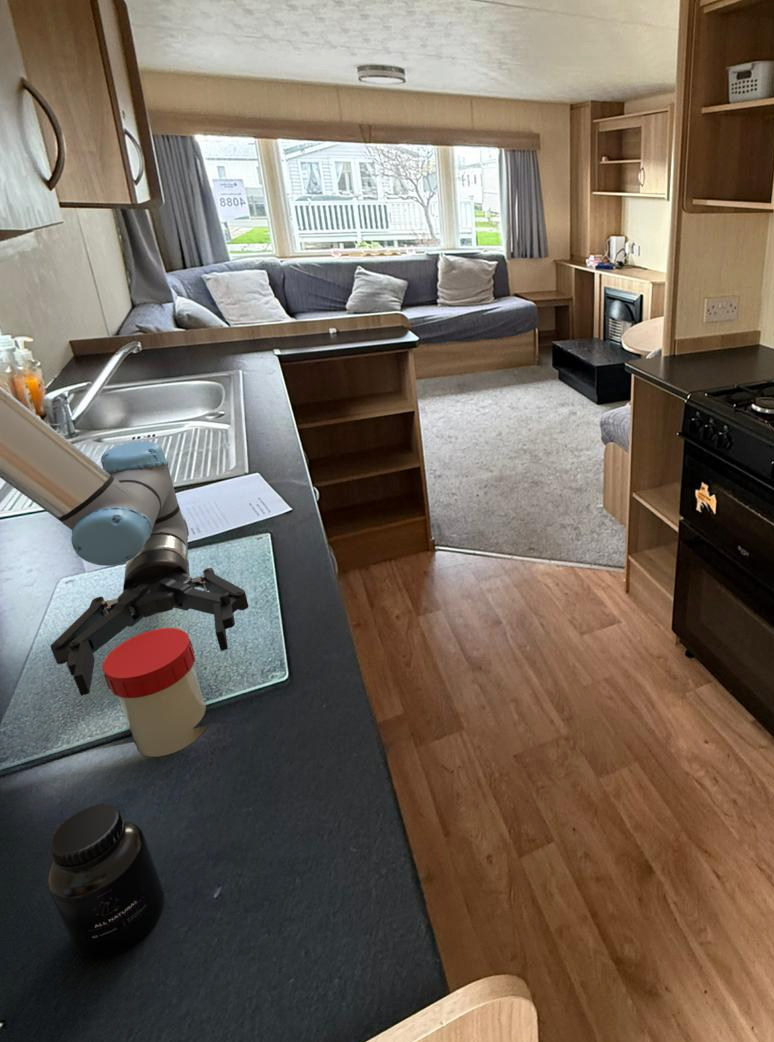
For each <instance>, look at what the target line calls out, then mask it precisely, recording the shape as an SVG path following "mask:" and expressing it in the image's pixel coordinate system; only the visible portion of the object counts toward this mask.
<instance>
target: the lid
mask: <svg viewBox="0 0 774 1042" xmlns="http://www.w3.org/2000/svg"><path fill="white" fill-rule="evenodd" d="M195 661H196V657H195V650H194V647H193V643H192V640H191V639H190V636H189V634H188V633H187V632H186V631H184V630H183V629H179V628H174V627H162V628H157V629H153V630H149V631H146V632H142V633H139V634H137V635H134V636H132V637H131V638H129V639H126V640H125V641H124V642H121V643H120V644H119V645H117V646H116V647H115V648H114V649H113V650H111V651H110V652H109V653H108V655H107V656H106V657H105V659H104V661H103V663H102V672H103V676H104V679H105V682H106V685H107V687H108V690H110V692H111V693H112V694H113V695H114V696H116V697H117V698H118V697H122V698H138V697H143V696H148V695H151V694H154V693H157V692H159V691H162V690H164V689H166V688H168V687H170V686H171V685H173V684H175V683H176V682H178V681H179V680H180V679H181V678H183V677H184V676H185V675H186V674H187V673H188V672H189V671H190V669H191V668H192V666H194V664H195Z"/></svg>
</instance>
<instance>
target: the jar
mask: <svg viewBox="0 0 774 1042" xmlns="http://www.w3.org/2000/svg"><path fill="white" fill-rule="evenodd" d="M117 698H118V701H119V704H120V706H121V709H122V711H123V714H124V717H125V720H126V722H127V725H128V728H129V731H130V733H131V736H132V739H133V740H134V744H135V746H136V749H137V752H139V753H140V754H141V755H143V756H146V757H149V758H156V757H158V758H159V757H164V756H168V755H169V756H170V755H171V754H174V753H177V752H179V751H182V750H184V749H185V748H187V747H189V746H190V745H191V744H193V743H194V742H195V741H197V740H198V739H199V738H200V737H201V736H202V735H203V734H204V733H205V731H206V729H207V728H208V725H204V726H198V727H196V726H197V725H198V724H199V723H200V722H201V721H202V719H203V718H204V716H205V714H206V709H207V705H206V702H205V699H204V696H203V691H202V689H201V685H200V683H199V679H198V676H197V672H196V670H195V666H194V665H193V666H192V668H191V669H190V671H189V672H188V673H187V674H186V675H185V676H184V677H183V678H181V679H180V680H179V681H178V682H176V683H175V684H173V685H171V686H170V687H168V688H166V689H164V690H162V691H159V692H157V693H154V694H151V695H148V696H143V697H138V698H122V697H118V696H117Z"/></svg>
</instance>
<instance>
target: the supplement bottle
mask: <svg viewBox="0 0 774 1042" xmlns="http://www.w3.org/2000/svg"><path fill="white" fill-rule="evenodd" d="M49 848H50V849H49V851H50V853H51V855H52V860H53V862H52V864H51V866H50V869H49V871H48V875H47V880H46V881H47V889H48V892H49V894H50V897H51V899H52V901H53V903H54V905H55V907H56V910H57V912H58V915H59V916H60V919H61V921H62V923H63V925H64V927H65V930H66V932H67V934H68V937H69V938H70V941H71V944H72V945H73V947H74V949H75V950H76V952H77V953H78V954H79V956H82V957H83V958H86V959H89V960H101V959H102V960H103V959H106V958H110V957H113V956H116V955H118V954H120V953H122V952H125V951H126V950H127V949H129V948H130V947H132V946H133V945H135V944H136V943H137V942H139V941H140V940H141V939H142V938H143V937H145V935H146V934H147V933H148V932H149V931H150V930H151V929H152V927H153V926H154V924H155V923H156V922H157V920H158V918H159V916H160V914H161V912H162V910H163V908H164V902H165V893H164V889H163V885H162V883H161V879H160V877H159V874H158V871H157V867H156V865H155V863H154V860H153V857H152V853H151V851H150V848H149V845H148V843H147V840H146V837H145V834H144V833H143V830H142V829H141V828H140V827H139V825H137V824H136V823H133V822H130V821H126V820H124V818H123V817H122V815H121V813H120V810H119V809H118V807H116V806H114V805H113V804H109V803H101V804H100V803H99V804H95V805H90V806H88V807H85V808H83V809H81V810H79V811H77V812H76V813H74V814H72V815H71V816H69V817H68V818H67V819H65V820H64V821H63V823H60V825H59V826H58V827H57V828H56V830H55V831H54V833H52V836H51V839H50V843H49Z"/></svg>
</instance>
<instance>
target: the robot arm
mask: <svg viewBox="0 0 774 1042" xmlns="http://www.w3.org/2000/svg"><path fill="white" fill-rule="evenodd" d="M100 463H101V466H100V465H99V464H98V463H96V462H95V461H94V460H92V459H91V458H90V457H89V456H87V454H85V453H84V452H83V451H81V450H80V449H79V448H78V447H76V446H75V444H73V443H72V442H70V440H68V439H67V438H65V437H64V436H63V435H62V434H60V433H59V432H58V431H56V429H54V428H53V427H52V426H51V425H49V424H48V423H47V422H45V420H43V419H42V418H40V417H39V416H38V415H37V414H36V413H35V412H33V411H32V410H30V409H29V408H28V407H27V406H26V405H24V403H22V402H21V401H19V400H18V399H17V398H16V397H15V396H13V395H12V394H11V393H9V392H8V391H7V390H6V389H4V388H3V386H1V385H0V479H1V480H3V482H5V483H7V484H8V485H10V486H11V487H12V488H14V489H15V490H17V492H19V493H21V494H22V495H24V496H25V497H26V498H28V499H29V500H30V501H32V503H35V504H36V505H38V506H39V507H40V508H41V509H43V510H44V511H46V512H47V513H48V514H50V515H51V516H53V517H54V518H55V519H56V520H57V521H59V522H61V523H62V524H63V525H64V526H65V527H66V528H68V529H70V530H71V538H70V539H71V544H72V545H71V546H72V548H73V549H74V551H75V554H76V555H77V556H78V557H79V558H81V559H82V560H84V561H85V562H87V563H89V564H92V565H97V566H102V567H103V566H106V567H109V566H110V567H111V566H118V565H121V564H125V563H126V564H125V568H124V569H125V570H124V578H123V586H122V592H121V594H119V596H117V598H114V599H109V600H105V599H104V598H105V597H104V596H97V597H95V598H93V599H92V600H91V602H90V605H89V607H88V608H87V609H86V610H85V611H84V612H83V613H82V614H81V615H80V616H79V617H78V618H77V619H76V620H75V621H74V622H73V623H72V624H71V625H70V626H69V627H67V629H66V630H65V631H64V632H63V633H62V634H61V635H60V636H58V638H56V639H55V641H53V643H51V644H50V646H49V648H50V650H51V652H52V655H53V657H54V659H55V663H56V664H57V665H63V664H66V667H67V669H68V671H69V674H70V676H72V677H73V679H74V682H75V685H76V686H77V690H78V692H79V695H80V697H83V696H86V695H89V694H90V692H91V686H92V679H93V673H94V668H95V661H96V657H95V655H94V654H95V652H97V651H98V650H99V649H100V648H102V647H103V646H105V644H107V643H108V642H109V641H111V640H112V639H113V638H114V637H116V636H117V635H118V634H120V633H121V632H122V631H123V630H125V629H126V628H127V627H129V628H130V627H131V628H132V627H134V626H135V625H136V624H137V623H139V622H140V621H141V620H142V619H144V618H149V617H151V616H154V615H156V614H157V615H158V614H160V613H166V612H169V611H172V610H173V609H178V610H182V611H189V610H193V611H196V612H200V613H201V612H202V613H205V614H208V615H209V614H210V615H213V618H214V629H215V636H216V639H217V643H218V646H219V650H220V652H223V651H227V650H228V649H229V647H228V639H227V631H226V630H227V629H230V628H234V627H235V625H236V622H235V615H234V614H235V612H237V611H245V610H247V609H249V603H248V599H247V594H246V590H245V589H243V588H241V587H239V586H238V585H236V584H234V583H232V582H230V581H228V580H226V579H225V578H222V577H221V576H220V575H217V574H216V573H215V570H214V568H212V567H208V568H205V569H203V570H202V575H199V576H196V577H193V578H192V577H191V576H190V559H189V558H190V557H189V536H190V534H189V527H188V524H187V520H186V519H185V517H184V515H183V514H182V510H181V507H180V504H179V502H178V498H177V495H176V490H175V486H174V483H173V479H172V475H171V471H170V468H169V465H170V463H169V462H168V461H167V457H166V455H165V453H164V450H163V447H162V446H161V445H160V444H159V443H157V442H154V441H150V440H149V441H146V440H140V441H131V442H126V443H122V444H119V445H116V446H113V447H111V448H109V449H107V450H106V451H104V452H103V453H102V455H101V457H100ZM198 588H200V589H198ZM202 589H203V590H202Z"/></svg>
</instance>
